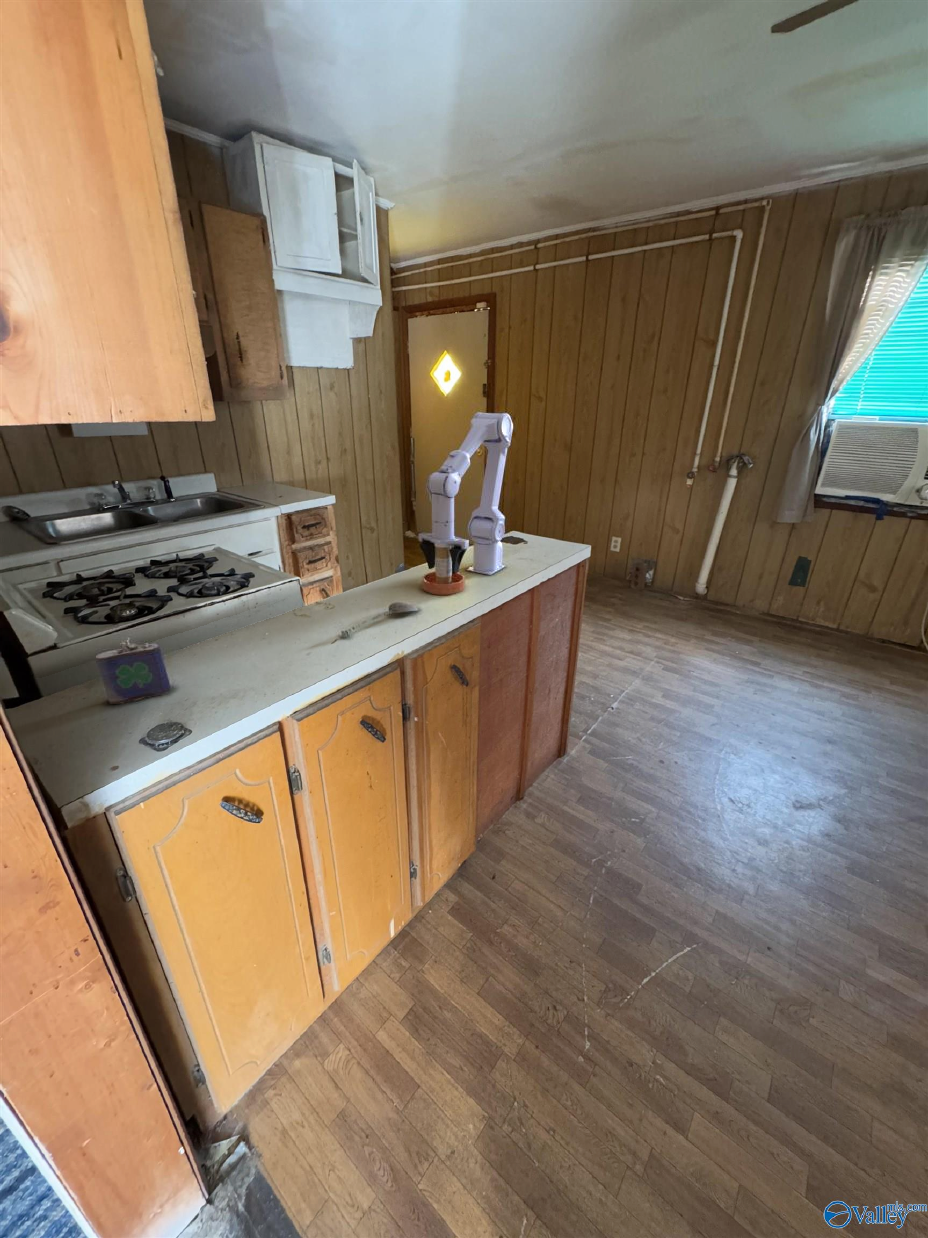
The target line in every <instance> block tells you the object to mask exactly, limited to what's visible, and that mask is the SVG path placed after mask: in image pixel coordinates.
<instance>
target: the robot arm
mask: <svg viewBox="0 0 928 1238" xmlns="http://www.w3.org/2000/svg"><path fill="white" fill-rule="evenodd" d="M513 429H514V423H513V421H512V419H511V416H510V415H509V413H507V412H503V413H496V412H495V413H493V412H491V413H490V412H480V411H478V412H476V413H474V415H473V417H472V419H471V420H470V430H469V432H468V433H467V435H466V436H465V439H464V440H463V442H462V443H461V446H459V449H455V450H453V451H451V452H449V454H448V456H447V458H446V459H445V461H444V462H443V464H442V465H441V467H440V468H439V469H438V471H435V472H433V473H432V474H430V475H429V476H428V478H427V482H426V484H425V487H426V491H427V493H428V495H429V501H430V502H431V533H430V532H421V533H418V542H421V543H419V548H420V551H422V554H423V555H424V557H425V560H426V564H427V568H428V570H432V569H434V568H435V543H448V544H450V546H452V547H451V549H449V551H450V555H451V560H452V574H456V573H460V568H461V563H462V561H463V558H464V556H465V554H466V552H467V550H468V549H469V547H470V545H469V544H470V542H469V541H470V540H468V539H464V538H461V537H458V536H455V496H456V495H457V494H458V493H459V490H460V486H461V485H460V484H461V482H462V478H463V476H464V475H465V473H466V472H467V470H469V467H470V466H471V459H470V458H471V457H472V456H473V455H474V453H475V452H476V451H477V450H478V449H479V447H480V446H481V445H483V446H485V448H486V449H487V456H486V457H487V458H486V464H485V470H484V475H483V476H484V477H483V483H482V490H481V497H480V503H479V506H478V507H477V508H476V509H474V510H473V511H472V512H471V517H470V520H469V522H468V523H467V533H468V536H469V537H470V538H471V541H472V542H473V557H472V559H473V560H472V561H473V562H472V563H473V565H472V566H471V567H468V568H467V571H469V572H473V573H478V574H484V575H488V576H491V575H493V574H494V573H496V572H499V571H500V570H501V569H503V568H505V565H504V564H503V543H502V539H503V538H504V536H505V532H506V527H505V520H506V517H505V515H504V514H503V513H502V512H501V511H500V509H499V503H500V496H501V490H502V484H503V478H504V471H505V466H506V460H507V453H508V449H509V447H510V446H511V440H512V436H513V435H512V434H513Z"/></svg>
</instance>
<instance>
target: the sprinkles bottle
mask: <svg viewBox="0 0 928 1238" xmlns="http://www.w3.org/2000/svg"><path fill="white" fill-rule="evenodd" d="M452 548H453V546H450V544H448V543H435V567H434V568H435V569H434V570H435V571H434V572H435V574H436V584H452V583H451V575H452V560H451V555H450V551H449V549H452Z"/></svg>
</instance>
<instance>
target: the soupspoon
mask: <svg viewBox="0 0 928 1238" xmlns="http://www.w3.org/2000/svg"><path fill="white" fill-rule="evenodd" d="M418 611H419V608H418V607H417V606H416V605H414V604H413V603H411V602H407V601H394V602H393V603H390V604H389V606H388V611H384V612H382V613H379V614H378V615H376V616H374V617H371V618H369V619H368V620H365V621H363V622H361V623H359V624H357V625H355V626H352V627H351V628H348V629H345V630H341V632H340V633H341V635H342V636H343V637H344V638H348V636H349V635H350V634H351V633H352V632H353V631H356V630H357V629H359V628H361V627H362V626H365V625H368V624H369V623H371V622H373V621H376V620H378V619H380V618H383V617H385V616H388V615H391V614H396V613H408V612H409V613H410V612H418Z"/></svg>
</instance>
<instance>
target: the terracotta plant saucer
mask: <svg viewBox="0 0 928 1238" xmlns="http://www.w3.org/2000/svg"><path fill="white" fill-rule="evenodd" d="M451 583H452V584H436V574H435V571H430V572H427V573H425V574H423V575H422V576H421V587H422V589H423V590H424V591H425V592H426V593H428V594H432V595H438V596H448V595H449V596H451V595H456V594H458V593H460V592H462V591H463V590H464V589H465V588H466V577H465V575H464V574H462V573H460V572H458V573H456V574H452V575H451Z"/></svg>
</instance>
